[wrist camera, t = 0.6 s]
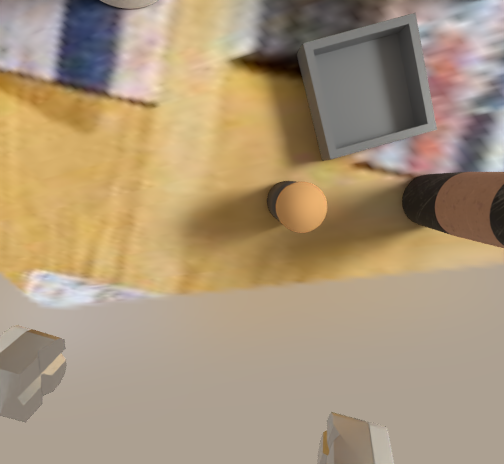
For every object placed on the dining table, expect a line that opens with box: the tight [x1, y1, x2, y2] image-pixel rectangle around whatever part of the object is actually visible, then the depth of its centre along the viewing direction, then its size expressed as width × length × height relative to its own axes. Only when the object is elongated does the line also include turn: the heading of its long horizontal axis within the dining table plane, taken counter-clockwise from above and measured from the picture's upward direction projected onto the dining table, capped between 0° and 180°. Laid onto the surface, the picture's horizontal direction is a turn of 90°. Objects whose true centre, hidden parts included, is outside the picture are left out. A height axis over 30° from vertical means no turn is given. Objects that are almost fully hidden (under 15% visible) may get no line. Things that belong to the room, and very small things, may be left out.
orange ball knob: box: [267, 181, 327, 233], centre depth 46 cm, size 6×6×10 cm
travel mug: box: [402, 172, 504, 248], centre depth 42 cm, size 8×8×20 cm
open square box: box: [297, 13, 437, 161], centre depth 47 cm, size 14×14×4 cm
